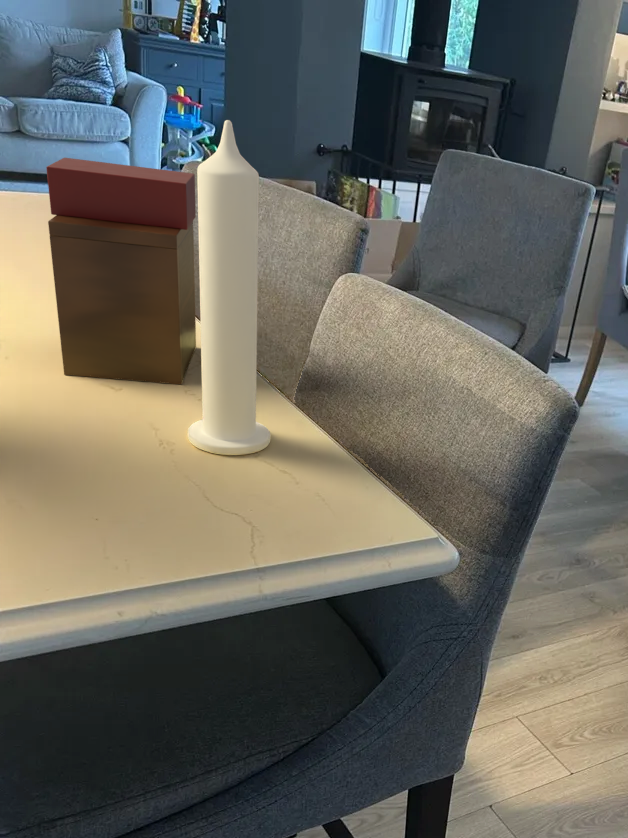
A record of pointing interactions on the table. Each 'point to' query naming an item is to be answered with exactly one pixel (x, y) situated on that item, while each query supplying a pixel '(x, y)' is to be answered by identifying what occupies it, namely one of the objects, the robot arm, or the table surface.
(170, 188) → the red rectangular block
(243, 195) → the candle
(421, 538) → the table surface
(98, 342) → the brown rectangular block
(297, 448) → the table surface
